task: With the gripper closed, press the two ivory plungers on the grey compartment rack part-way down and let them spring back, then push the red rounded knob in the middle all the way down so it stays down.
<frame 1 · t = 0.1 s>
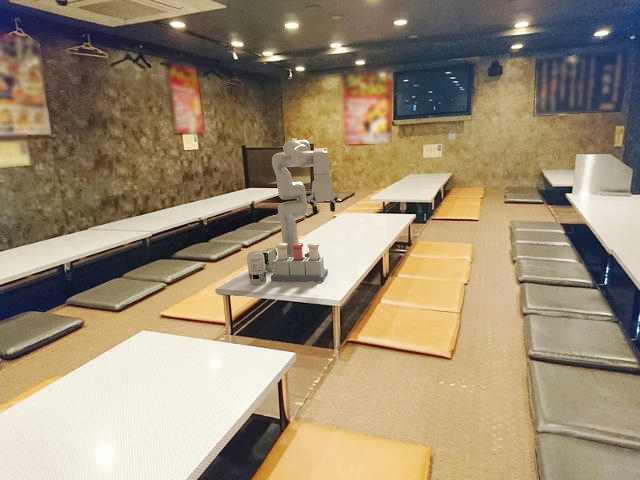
hand: (324, 212, 205), 31 cm above the table, tool pointing down, fingers open, 9 cm apart
electrical switch: (313, 266, 226), on the table
ivory plunger 1: (282, 252, 208), point 13 cm above the table, slide at 0.0 cm
ivory plunger 2: (313, 252, 205), point 13 cm above the table, slide at 0.0 cm
red rounded knob: (297, 252, 206), point 13 cm above the table, slide at 0.0 cm
pneumatic valve: (268, 270, 224), on the table
supplement can: (258, 283, 206), on the table
grey compartment rack: (299, 277, 209), on the table
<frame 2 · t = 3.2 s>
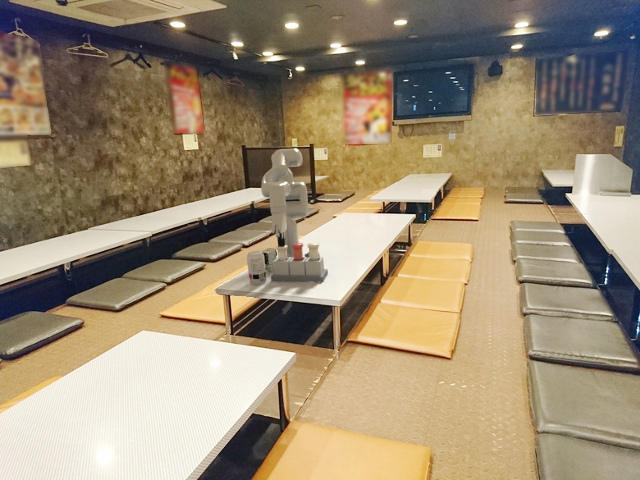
hand: (281, 246, 207), 16 cm above the table, tool pointing down, fingers closed
ivory plunger 1: (282, 254, 208), point 12 cm above the table, slide at 0.9 cm, touching gripper
everything else where it was.
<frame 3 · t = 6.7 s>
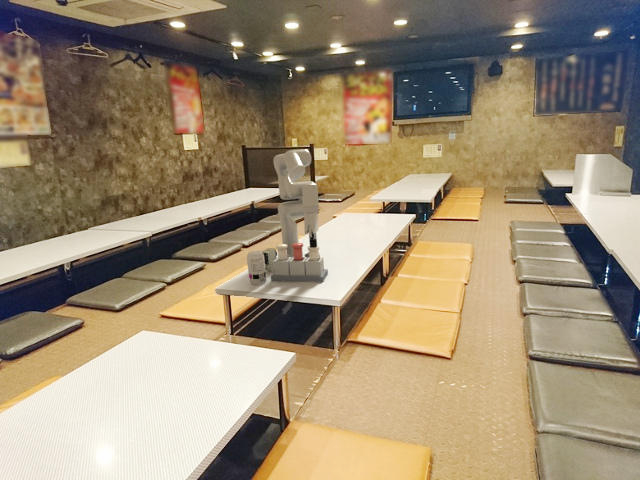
hand: (313, 246, 204), 16 cm above the table, tool pointing down, fingers closed
ivory plunger 1: (282, 253, 208), point 12 cm above the table, slide at 0.6 cm
ivory plunger 2: (314, 255, 205), point 12 cm above the table, slide at 1.4 cm, touching gripper
everything else where it was.
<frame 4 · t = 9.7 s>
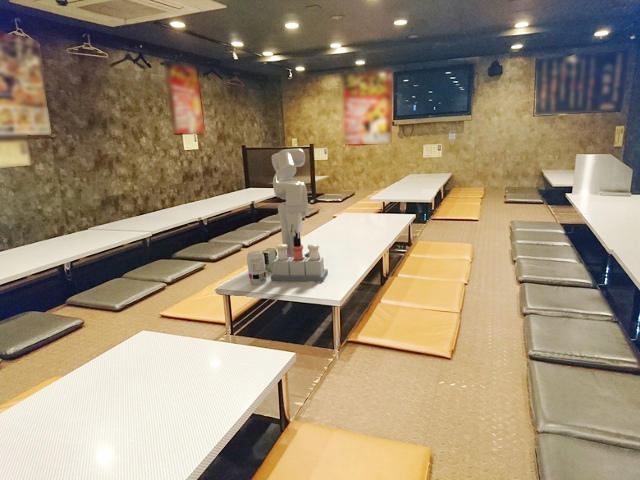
hand: (297, 246, 205), 16 cm above the table, tool pointing down, fingers closed
ivory plunger 2: (313, 253, 205), point 12 cm above the table, slide at 0.6 cm
red rounded knob: (298, 254, 207), point 12 cm above the table, slide at 0.9 cm, touching gripper
everything else where it was.
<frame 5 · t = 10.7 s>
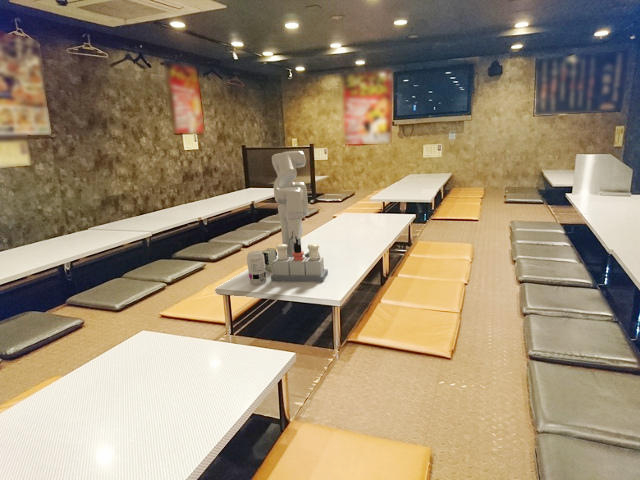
hand: (297, 252, 206), 13 cm above the table, tool pointing down, fingers closed
red rounded knob: (298, 260, 207), point 9 cm above the table, slide at 4.0 cm, touching gripper
everything else where it was.
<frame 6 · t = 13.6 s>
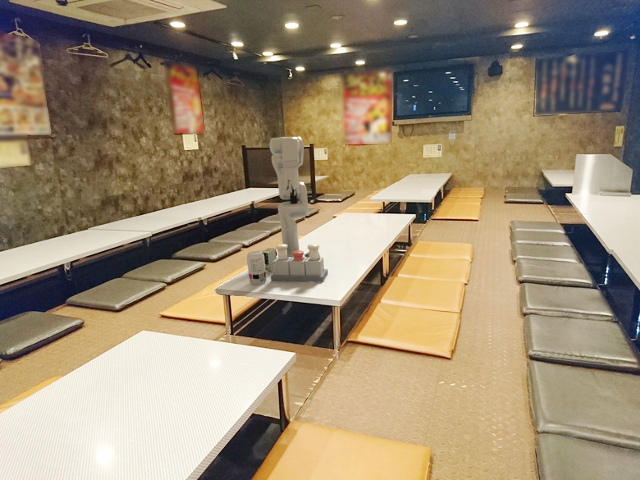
hand: (294, 203, 201), 37 cm above the table, tool pointing down, fingers closed
red rounded knob: (298, 260, 207), point 9 cm above the table, slide at 4.0 cm
everything else where it was.
at the end: red rounded knob slide at 4.0 cm; ivory plunger 1 slide at 0.6 cm; ivory plunger 2 slide at 0.6 cm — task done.
